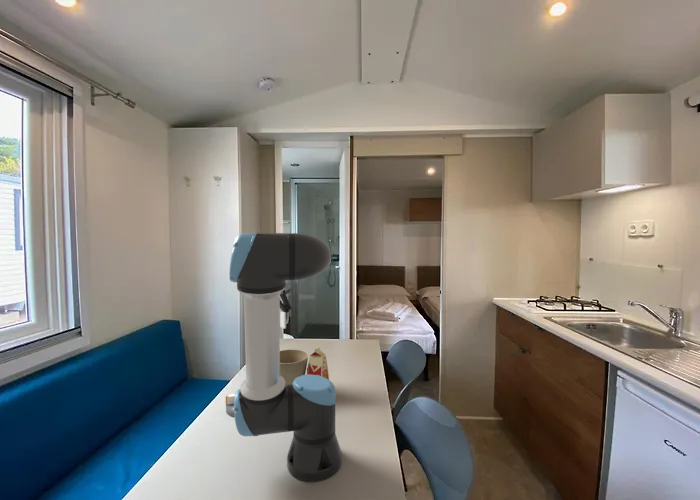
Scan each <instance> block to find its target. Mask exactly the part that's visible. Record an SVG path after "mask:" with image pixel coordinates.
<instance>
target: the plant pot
mask: <svg viewBox="0 0 700 500" xmlns="http://www.w3.org/2000/svg"><path fill="white" fill-rule="evenodd" d="M308 362H309V353H308V352H307V351H305V350H302V349H298V348H297V349H296V348H295V349H294V348H291V349H290V348H289V349H282V350H281V349H280V375H281V376H282V377H283V378H284V380H285V383H286V385H291V384H293V382H294V380H295V379H296V378H297V377H301V376H302V375H306V373H307V367H308Z"/></svg>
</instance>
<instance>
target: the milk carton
mask: <svg viewBox="0 0 700 500" xmlns="http://www.w3.org/2000/svg"><path fill="white" fill-rule="evenodd" d="M306 375H318V376H322V377H324V378H326V379H328V380H330V375H329V367H328V359H327V355H326V354H325V353H324V352H323V351H322V350H321V348H320V346H317V348H314V352H313V353H312V354H310V355H309V357H308V362H307V367H306Z"/></svg>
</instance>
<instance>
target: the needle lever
mask: <svg viewBox="0 0 700 500" xmlns="http://www.w3.org/2000/svg"><path fill="white" fill-rule="evenodd" d="M234 398H235V393H232V394H227V395H225V405H226V404H227V405H228V404H234Z"/></svg>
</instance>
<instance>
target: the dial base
mask: <svg viewBox="0 0 700 500" xmlns="http://www.w3.org/2000/svg"><path fill="white" fill-rule="evenodd" d="M234 412H235V409H234V404H228V405H227V404H226V403H225V413H226V414H227V415H228V416H229V417H231V418H234V419H235V415H234Z"/></svg>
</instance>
